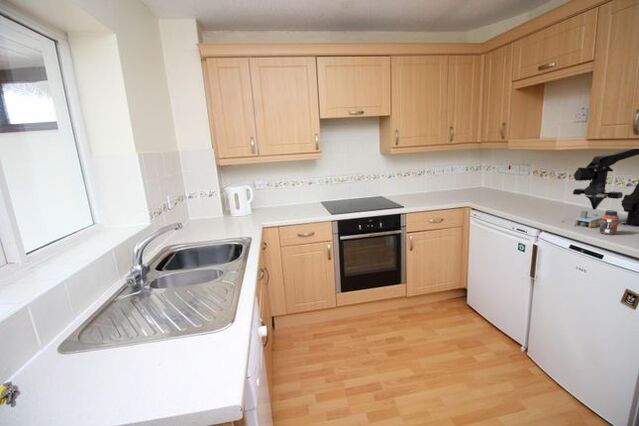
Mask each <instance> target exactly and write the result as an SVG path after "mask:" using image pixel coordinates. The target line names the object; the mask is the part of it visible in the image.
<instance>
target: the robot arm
mask: <svg viewBox="0 0 639 426" xmlns="http://www.w3.org/2000/svg"><path fill="white" fill-rule="evenodd" d="M638 155H639V149H629V148H626V149H623V150H620V151H617V152H614V153H607V154H599V155H596V156H594V157H593V159H592V161H591V162H590V163H588V164H587V165H586V167H577V170H575V172H574V174H573V178H574V180H575V181H581V182H582V181H590V182H589V185H588V186H587V187H586V188H575V189H574V190H573V192H572V194H573V195H575V196H580V195H582V194H583V195H584V196H585V198H587V199H588V200H589V202H590V204H591V208H592V210H596V209H598V207H599V205H600V204H601V203H602V202H603V200H604V199H607V198H608V199H616V200H617V199H622V198H623V199H622V200H621V207H622V208H623V211H624V212H626V213H627V216H626V222H623V223H622V224H623V225H627V226H633V227H639V181H638V182H637V184H636V185H635V187H634V189H633V191H632V192H631V193H630V194H625V195H624V194H623V192H622V191H613V190H612V191H607V190H606V185H608V182H607V180H608V175H609V174H608V172H613V171H614V169H612V168H611V166H613V165H615V164H616V163H617V162H620V161H623V160H626V159H629V158H632V157H635V156H638ZM606 191H607V192H606ZM623 195H624V196H623Z"/></svg>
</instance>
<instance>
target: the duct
mask: <svg viewBox="0 0 639 426" xmlns="http://www.w3.org/2000/svg"><path fill="white" fill-rule="evenodd" d="M601 220H602V219H600V220H597V221H594V222H589V225H587V226H588V229H592V228H595V227H599V226H600V225H601ZM581 222H582V221H579V220H576V219H575V221H574V226H577V227H578V226H579V225H580V223H581ZM580 226H581V225H580Z"/></svg>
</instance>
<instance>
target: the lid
mask: <svg viewBox="0 0 639 426" xmlns="http://www.w3.org/2000/svg"><path fill="white" fill-rule="evenodd" d="M588 213H589V211H588V210H587V211H586V210H582V211H580V216H579V217H576V218H575V220H579V221H585V222H594V221H597V220H600V219H602V216H599V214H597V213H596V214H595V213H594V214H593V215H591V214H588Z"/></svg>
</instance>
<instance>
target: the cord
mask: <svg viewBox="0 0 639 426" xmlns="http://www.w3.org/2000/svg"><path fill="white" fill-rule="evenodd" d="M580 226H581V227H587V226H589V222H585V221H582V222H581V223H580Z"/></svg>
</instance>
